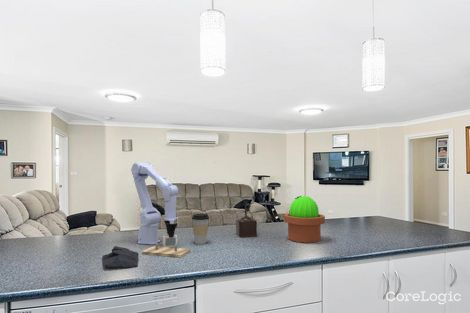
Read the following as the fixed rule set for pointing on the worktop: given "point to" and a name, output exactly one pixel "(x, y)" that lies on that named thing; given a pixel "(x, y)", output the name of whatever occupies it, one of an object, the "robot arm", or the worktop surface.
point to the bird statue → (246, 225)
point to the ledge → (166, 251)
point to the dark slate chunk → (120, 258)
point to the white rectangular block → (170, 241)
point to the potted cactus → (304, 220)
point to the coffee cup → (200, 228)
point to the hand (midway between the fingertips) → (170, 235)
